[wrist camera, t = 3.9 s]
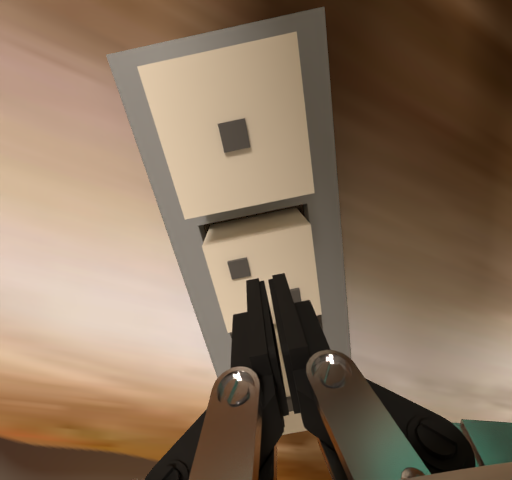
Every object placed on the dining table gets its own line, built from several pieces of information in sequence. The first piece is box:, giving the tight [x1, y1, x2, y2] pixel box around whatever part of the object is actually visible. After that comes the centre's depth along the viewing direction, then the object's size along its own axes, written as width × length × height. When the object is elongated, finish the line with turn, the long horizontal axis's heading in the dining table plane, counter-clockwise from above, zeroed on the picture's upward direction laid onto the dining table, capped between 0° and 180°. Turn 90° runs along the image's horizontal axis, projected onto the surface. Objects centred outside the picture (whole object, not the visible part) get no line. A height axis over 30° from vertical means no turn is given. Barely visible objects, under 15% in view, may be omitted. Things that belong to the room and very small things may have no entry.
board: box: [106, 7, 351, 377], centre depth 18 cm, size 11×26×2 cm, turn 11°
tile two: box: [202, 207, 322, 333], centre depth 16 cm, size 6×6×4 cm
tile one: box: [137, 31, 315, 220], centre depth 12 cm, size 6×6×4 cm
